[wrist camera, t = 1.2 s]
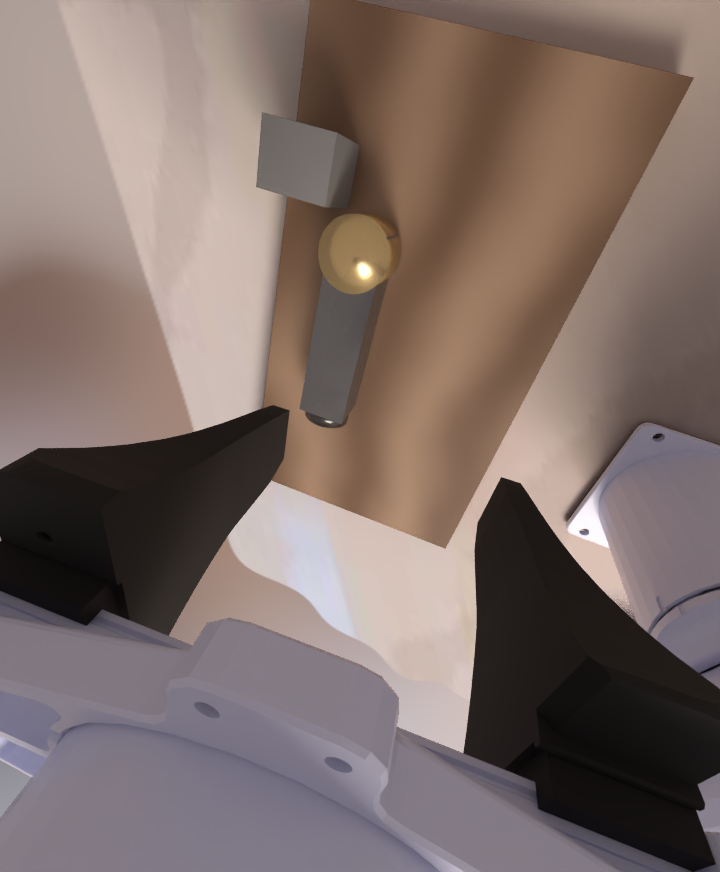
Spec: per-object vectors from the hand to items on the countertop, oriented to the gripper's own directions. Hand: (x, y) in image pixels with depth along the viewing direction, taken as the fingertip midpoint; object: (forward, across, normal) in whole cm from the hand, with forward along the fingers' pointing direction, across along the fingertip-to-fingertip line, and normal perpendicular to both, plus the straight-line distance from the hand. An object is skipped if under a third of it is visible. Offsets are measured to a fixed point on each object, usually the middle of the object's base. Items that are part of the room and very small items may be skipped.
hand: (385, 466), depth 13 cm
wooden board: (+11, +1, -1) cm, 11 cm away
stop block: (+10, +7, -8) cm, 14 cm away
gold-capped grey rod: (+9, +4, -1) cm, 10 cm away
